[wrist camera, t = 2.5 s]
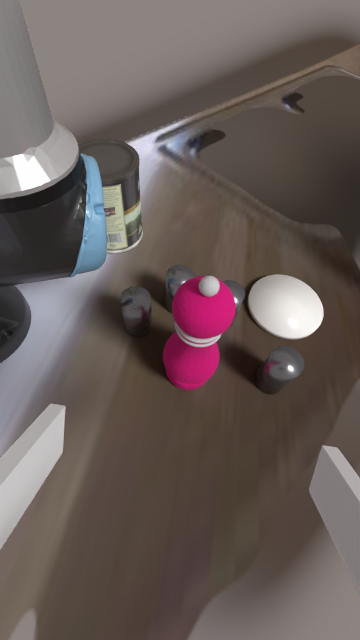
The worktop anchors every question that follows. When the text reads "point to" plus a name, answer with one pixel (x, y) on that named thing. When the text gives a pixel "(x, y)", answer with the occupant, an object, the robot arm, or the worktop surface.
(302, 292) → the disc
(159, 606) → the worktop surface
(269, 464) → the worktop surface
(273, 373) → the posts
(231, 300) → the pepper mill
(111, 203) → the coffee can
